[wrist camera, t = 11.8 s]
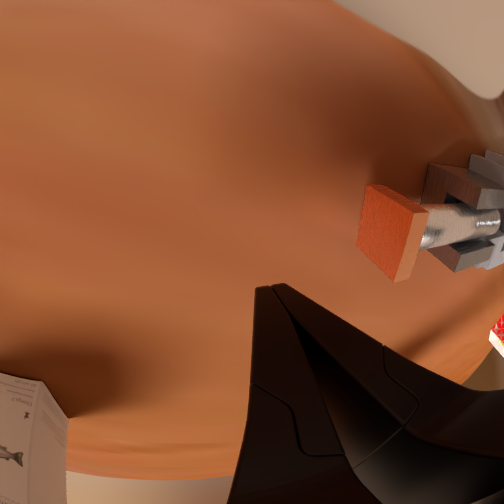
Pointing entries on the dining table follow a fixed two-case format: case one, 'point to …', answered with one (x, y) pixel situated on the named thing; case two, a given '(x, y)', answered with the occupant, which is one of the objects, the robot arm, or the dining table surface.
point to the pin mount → (462, 191)
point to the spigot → (503, 217)
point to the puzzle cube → (498, 336)
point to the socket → (499, 172)
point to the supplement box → (31, 443)
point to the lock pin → (414, 228)
